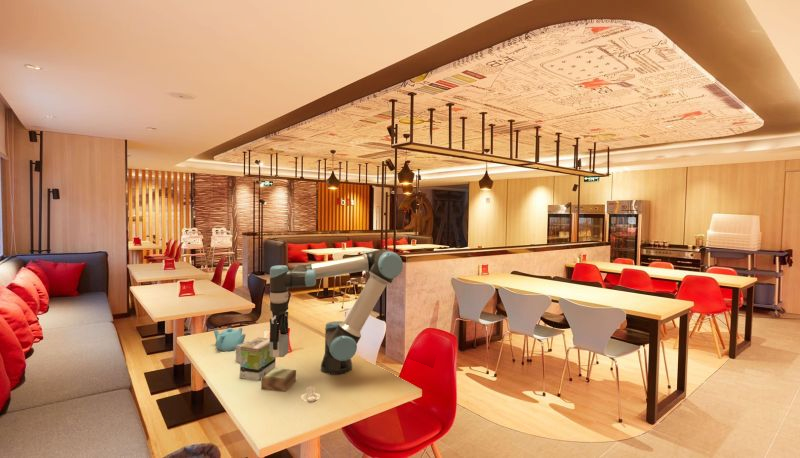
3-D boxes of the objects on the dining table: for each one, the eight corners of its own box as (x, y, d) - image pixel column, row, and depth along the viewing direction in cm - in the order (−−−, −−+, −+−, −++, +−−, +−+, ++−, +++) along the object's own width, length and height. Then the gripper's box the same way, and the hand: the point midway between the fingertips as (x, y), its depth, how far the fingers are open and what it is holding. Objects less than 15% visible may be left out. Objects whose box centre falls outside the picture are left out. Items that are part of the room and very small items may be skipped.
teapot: (213, 345, 225) (213, 326, 224) (242, 341, 232) (242, 323, 232) (215, 354, 212) (215, 333, 211) (245, 350, 219) (246, 330, 218)
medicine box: (241, 364, 199) (241, 346, 199) (235, 361, 201) (235, 344, 201) (254, 359, 206) (254, 342, 205) (248, 357, 208) (249, 340, 208)
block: (275, 351, 179) (275, 333, 178) (288, 352, 178) (288, 334, 177) (269, 356, 173) (269, 338, 172) (282, 357, 172) (282, 339, 171)
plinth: (295, 381, 181) (296, 369, 181) (285, 391, 170) (285, 379, 170) (272, 378, 183) (273, 367, 183) (261, 389, 172) (261, 376, 172)
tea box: (259, 380, 180) (259, 348, 180) (239, 378, 182) (239, 346, 182) (276, 368, 195) (276, 338, 194) (257, 366, 197) (257, 336, 196)
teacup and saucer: (315, 404, 161) (315, 394, 161) (296, 402, 162) (296, 392, 162) (323, 394, 170) (323, 385, 170) (305, 392, 171) (305, 383, 171)
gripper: (277, 307, 164) (278, 362, 165) (296, 296, 183) (296, 346, 184) (260, 306, 165) (261, 361, 166) (280, 296, 184) (280, 345, 185)
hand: (279, 353), depth 175 cm, fingers closed on block, 6 cm apart
